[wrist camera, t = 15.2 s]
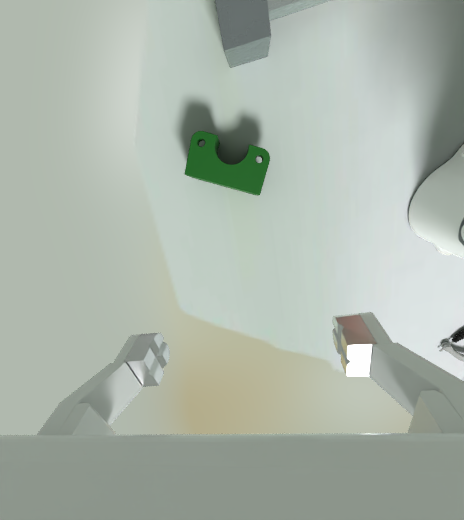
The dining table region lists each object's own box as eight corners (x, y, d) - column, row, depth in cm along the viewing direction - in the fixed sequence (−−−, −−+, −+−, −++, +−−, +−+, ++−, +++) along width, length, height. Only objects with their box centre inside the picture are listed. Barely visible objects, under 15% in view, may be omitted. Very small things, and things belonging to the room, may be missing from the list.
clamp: (253, 158, 39) (282, 155, 31) (244, 192, 41) (269, 198, 33) (187, 133, 34) (201, 122, 26) (179, 173, 36) (190, 174, 28)
